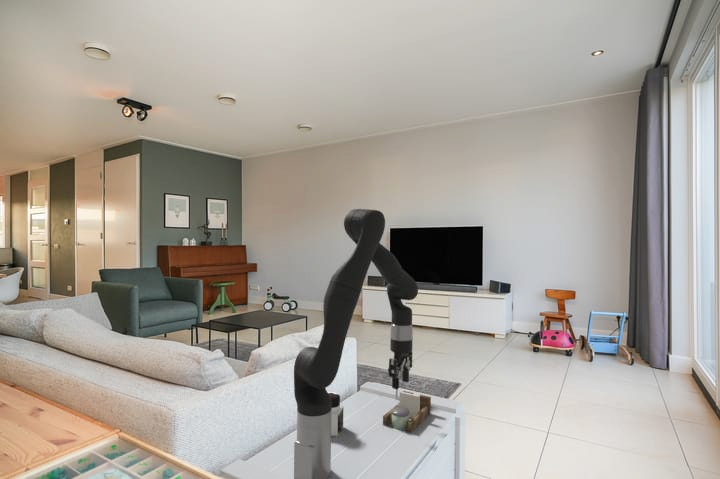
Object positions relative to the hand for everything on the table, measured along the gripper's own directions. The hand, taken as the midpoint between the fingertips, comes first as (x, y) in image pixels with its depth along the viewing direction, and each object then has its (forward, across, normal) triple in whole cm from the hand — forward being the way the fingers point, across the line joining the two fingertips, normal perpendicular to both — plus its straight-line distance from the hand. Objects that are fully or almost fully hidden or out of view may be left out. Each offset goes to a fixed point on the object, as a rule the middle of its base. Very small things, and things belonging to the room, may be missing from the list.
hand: (400, 384), depth 133 cm
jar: (+14, 0, 0) cm, 14 cm away
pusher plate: (+13, +11, 0) cm, 17 cm away
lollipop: (+14, +20, +11) cm, 27 cm away
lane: (+14, +5, 0) cm, 15 cm away
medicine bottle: (+14, -16, +18) cm, 28 cm away
